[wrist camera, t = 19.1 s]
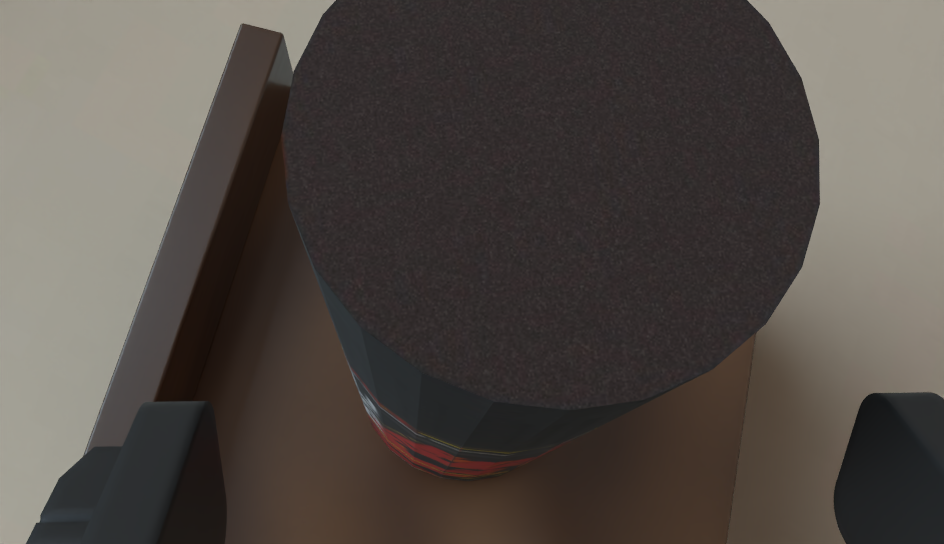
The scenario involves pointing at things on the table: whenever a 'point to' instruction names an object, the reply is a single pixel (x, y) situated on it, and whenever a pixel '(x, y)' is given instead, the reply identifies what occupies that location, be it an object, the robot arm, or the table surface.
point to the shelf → (335, 392)
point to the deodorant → (543, 208)
